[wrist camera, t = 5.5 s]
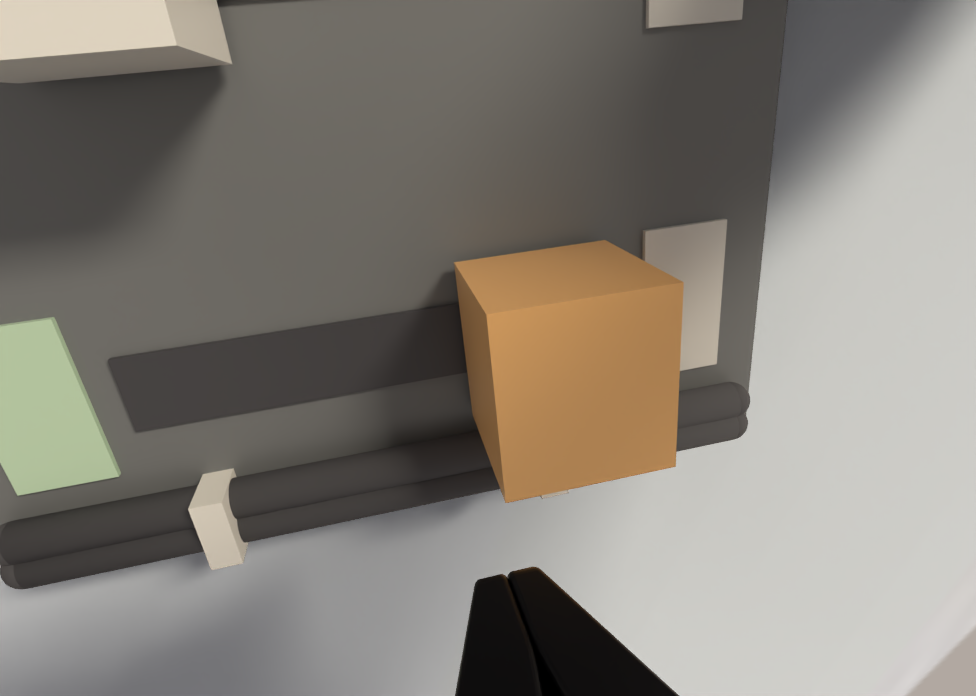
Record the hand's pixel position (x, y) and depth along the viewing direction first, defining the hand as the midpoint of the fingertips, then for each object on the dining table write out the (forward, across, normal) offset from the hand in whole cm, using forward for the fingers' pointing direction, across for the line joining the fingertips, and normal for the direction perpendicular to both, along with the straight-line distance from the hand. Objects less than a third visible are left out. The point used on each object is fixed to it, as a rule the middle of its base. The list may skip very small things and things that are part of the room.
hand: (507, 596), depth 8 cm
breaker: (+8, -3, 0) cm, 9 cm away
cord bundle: (+9, +1, +4) cm, 10 cm away
